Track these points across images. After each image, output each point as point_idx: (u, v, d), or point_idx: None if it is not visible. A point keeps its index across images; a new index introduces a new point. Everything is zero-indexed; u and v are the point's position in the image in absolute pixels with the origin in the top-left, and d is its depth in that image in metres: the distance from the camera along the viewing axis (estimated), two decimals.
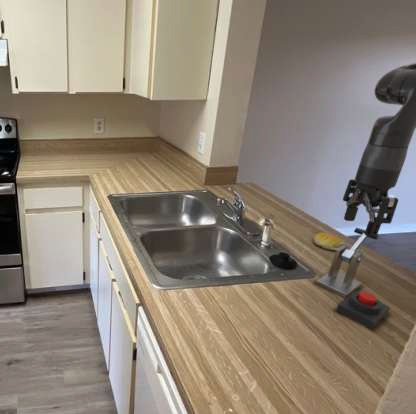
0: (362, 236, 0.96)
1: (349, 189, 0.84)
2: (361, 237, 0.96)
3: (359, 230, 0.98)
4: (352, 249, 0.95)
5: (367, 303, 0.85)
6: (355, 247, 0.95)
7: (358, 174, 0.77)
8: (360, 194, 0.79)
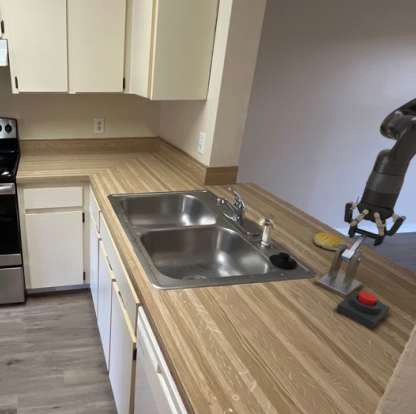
0: (362, 236, 0.96)
1: (349, 211, 0.98)
2: (361, 237, 0.96)
3: (359, 230, 0.98)
4: (352, 249, 0.95)
5: (367, 303, 0.85)
6: (355, 247, 0.95)
7: (372, 198, 0.91)
8: (368, 213, 0.94)
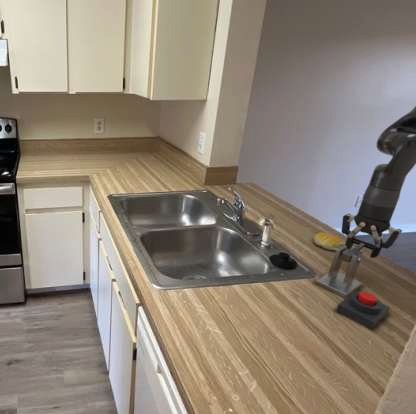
0: (360, 244, 0.98)
1: (346, 223, 1.01)
2: (359, 245, 0.98)
3: (357, 240, 1.00)
4: None
5: (367, 303, 0.85)
6: (355, 251, 0.96)
7: (369, 212, 0.93)
8: (364, 225, 0.97)
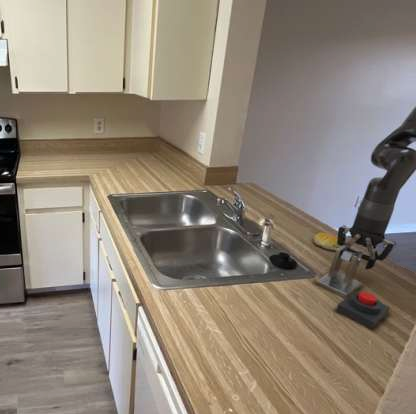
0: None
1: (342, 235, 1.02)
2: None
3: (353, 250, 1.02)
4: None
5: (367, 303, 0.85)
6: None
7: (363, 224, 0.94)
8: (359, 237, 0.98)
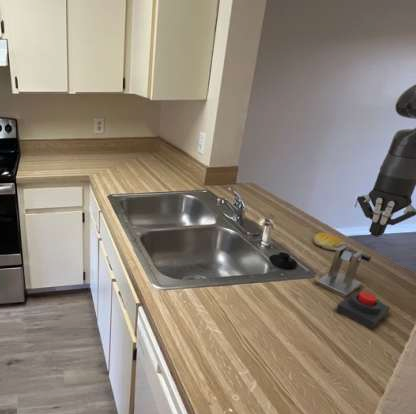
0: None
1: (365, 204, 0.88)
2: None
3: (353, 250, 1.02)
4: None
5: (367, 303, 0.85)
6: None
7: (387, 185, 0.81)
8: (382, 201, 0.84)
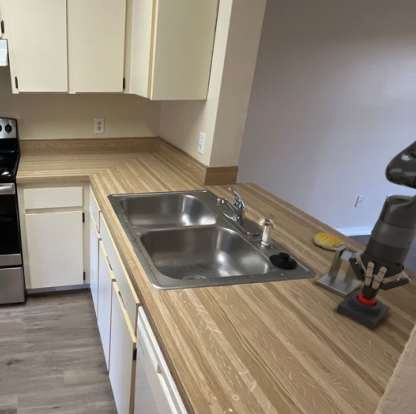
0: None
1: (356, 266, 0.85)
2: None
3: (353, 250, 1.02)
4: None
5: (366, 304, 0.85)
6: None
7: (379, 251, 0.78)
8: (374, 265, 0.82)
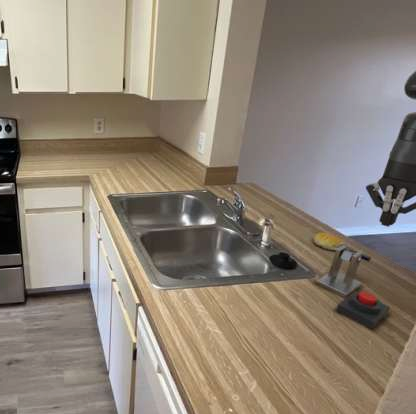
0: None
1: (374, 193, 0.84)
2: None
3: (353, 250, 1.02)
4: None
5: (367, 303, 0.85)
6: None
7: (398, 172, 0.77)
8: (393, 189, 0.80)
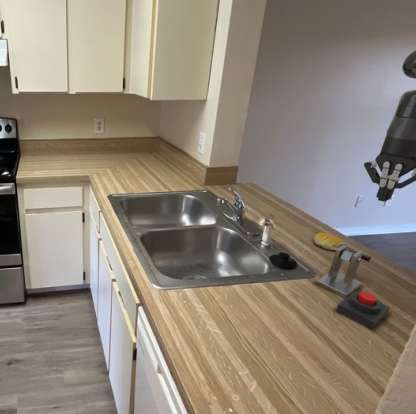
0: None
1: (372, 170, 0.88)
2: None
3: (353, 250, 1.02)
4: None
5: (367, 303, 0.85)
6: None
7: (394, 147, 0.81)
8: (390, 165, 0.84)
